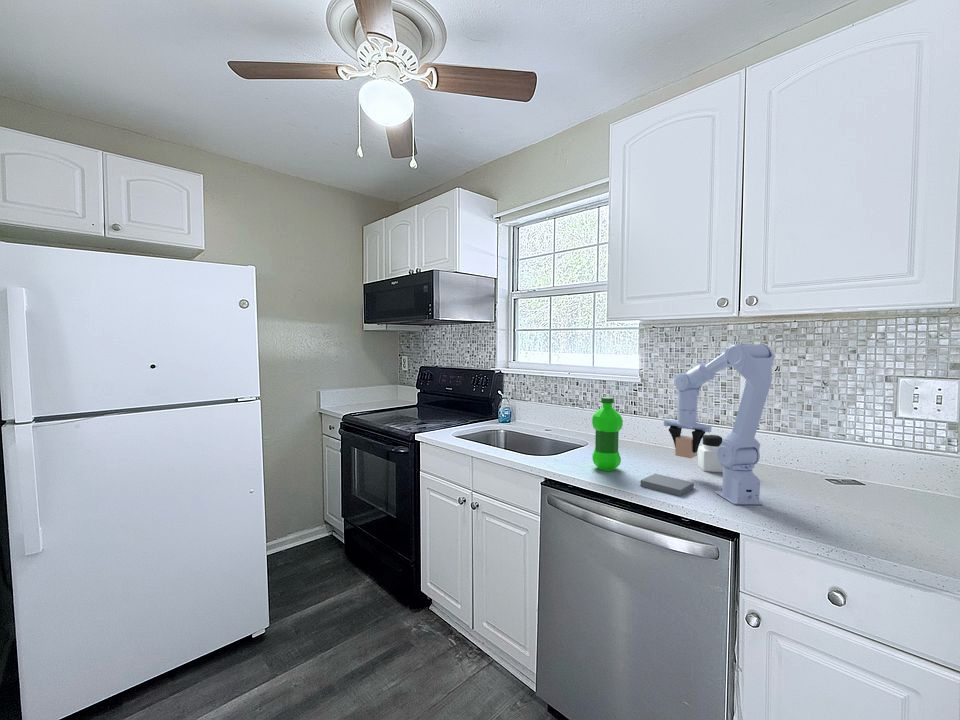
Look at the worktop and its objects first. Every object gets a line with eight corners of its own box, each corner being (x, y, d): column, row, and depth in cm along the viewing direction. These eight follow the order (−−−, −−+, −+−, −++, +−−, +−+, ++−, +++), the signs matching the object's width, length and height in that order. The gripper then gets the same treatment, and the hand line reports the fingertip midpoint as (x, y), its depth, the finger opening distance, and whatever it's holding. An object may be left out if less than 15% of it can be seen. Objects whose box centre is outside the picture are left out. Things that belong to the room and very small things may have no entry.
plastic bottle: (585, 468, 152) (586, 397, 151) (602, 462, 159) (603, 395, 158) (610, 475, 144) (611, 400, 143) (627, 469, 151) (628, 397, 150)
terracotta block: (696, 455, 143) (697, 437, 143) (690, 458, 140) (691, 440, 139) (681, 452, 147) (681, 435, 147) (675, 455, 143) (675, 437, 143)
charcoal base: (693, 488, 132) (693, 482, 131) (680, 496, 125) (680, 490, 125) (655, 478, 140) (655, 473, 140) (640, 485, 133) (640, 480, 133)
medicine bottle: (726, 472, 147) (727, 438, 147) (703, 471, 149) (704, 437, 148) (719, 467, 154) (720, 433, 154) (697, 465, 156) (698, 432, 155)
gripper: (715, 411, 140) (714, 452, 141) (670, 405, 151) (669, 444, 151) (707, 413, 135) (706, 456, 136) (661, 408, 146) (660, 447, 146)
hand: (686, 450), depth 143 cm, fingers closed on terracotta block, 5 cm apart
